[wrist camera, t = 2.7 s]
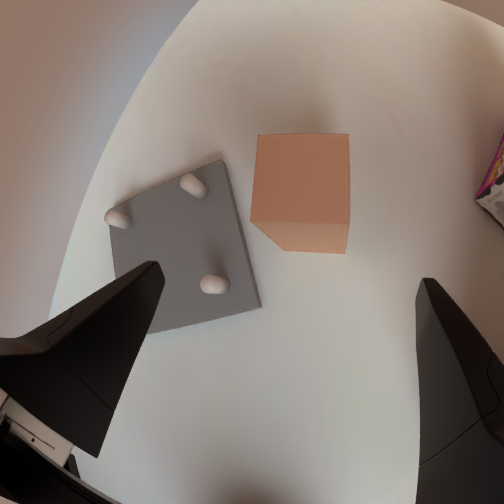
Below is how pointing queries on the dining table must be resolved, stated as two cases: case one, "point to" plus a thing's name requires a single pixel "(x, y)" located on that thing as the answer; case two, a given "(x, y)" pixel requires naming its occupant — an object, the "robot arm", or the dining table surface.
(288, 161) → the terracotta post
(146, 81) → the dining table surface
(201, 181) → the standoff chassis
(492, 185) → the candy bar box
